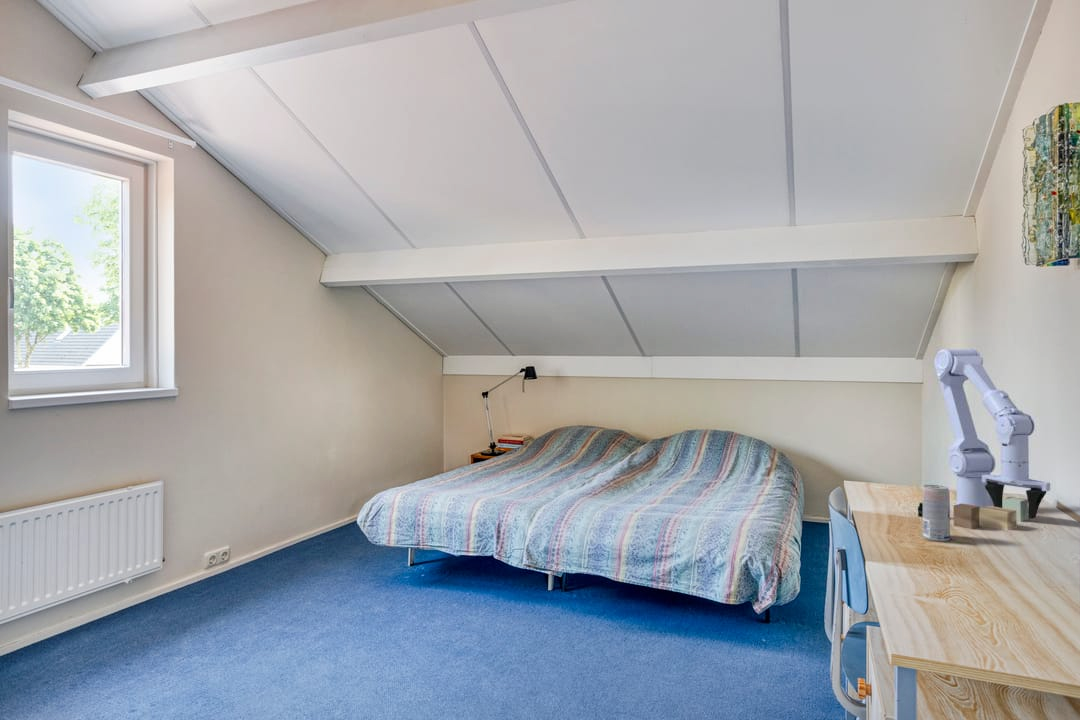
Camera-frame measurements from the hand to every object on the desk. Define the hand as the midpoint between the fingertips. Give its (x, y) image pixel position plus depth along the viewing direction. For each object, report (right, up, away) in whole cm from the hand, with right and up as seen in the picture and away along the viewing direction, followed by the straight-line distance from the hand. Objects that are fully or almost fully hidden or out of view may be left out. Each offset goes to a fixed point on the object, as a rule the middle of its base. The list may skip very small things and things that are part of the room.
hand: (1015, 514), depth 168 cm
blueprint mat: (-8, -2, -4) cm, 9 cm away
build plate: (-20, -3, +3) cm, 20 cm away
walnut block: (-17, -2, -7) cm, 18 cm away
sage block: (0, -2, 0) cm, 2 cm away
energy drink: (-29, -2, -15) cm, 33 cm away
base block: (-9, -1, -7) cm, 11 cm away
